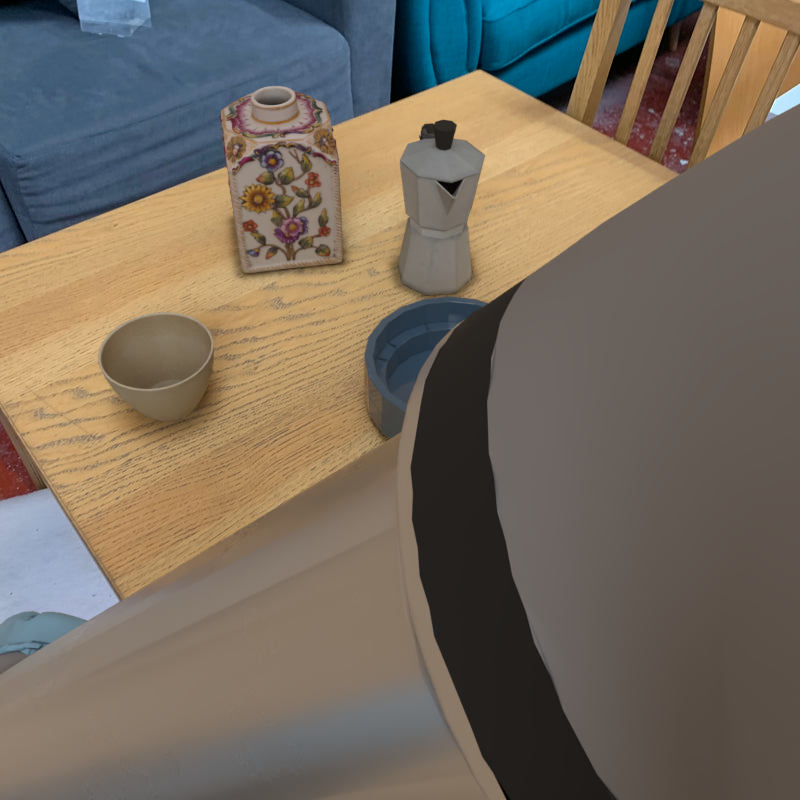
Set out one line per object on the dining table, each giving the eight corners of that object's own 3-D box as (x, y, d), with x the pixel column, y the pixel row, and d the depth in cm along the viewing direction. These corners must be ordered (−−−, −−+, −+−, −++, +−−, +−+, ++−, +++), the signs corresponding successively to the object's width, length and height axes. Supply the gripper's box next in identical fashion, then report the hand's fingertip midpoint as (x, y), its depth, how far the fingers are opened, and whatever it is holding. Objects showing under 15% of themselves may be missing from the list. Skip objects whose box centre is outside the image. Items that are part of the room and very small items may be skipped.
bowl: (571, 427, 72) (584, 383, 68) (419, 494, 67) (422, 451, 62) (477, 322, 82) (483, 278, 77) (337, 373, 76) (334, 329, 72)
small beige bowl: (116, 450, 69) (94, 396, 64) (120, 373, 76) (100, 318, 70) (227, 434, 71) (216, 380, 65) (222, 360, 77) (211, 305, 72)
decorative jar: (344, 265, 88) (339, 117, 75) (242, 277, 86) (218, 128, 73) (328, 207, 96) (321, 64, 83) (234, 217, 94) (211, 72, 81)
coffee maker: (484, 304, 84) (505, 155, 71) (405, 311, 83) (411, 160, 70) (456, 225, 94) (470, 81, 81) (386, 230, 93) (387, 85, 79)
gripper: (-36, 797, 44) (208, 530, 56) (320, 1100, 36) (514, 708, 48) (-95, 753, 38) (190, 468, 51) (310, 1101, 30) (532, 658, 43)
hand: (348, 584), depth 50 cm, fingers open, 13 cm apart
